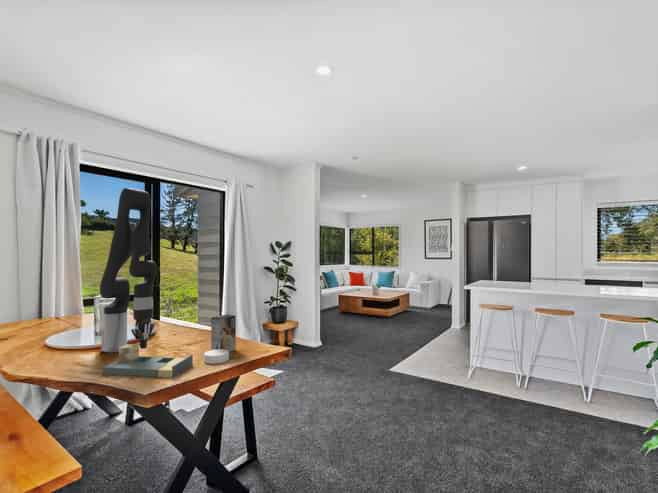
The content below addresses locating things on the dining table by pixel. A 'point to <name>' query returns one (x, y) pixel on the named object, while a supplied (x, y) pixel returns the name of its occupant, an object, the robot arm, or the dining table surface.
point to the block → (128, 352)
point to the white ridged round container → (216, 356)
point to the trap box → (149, 366)
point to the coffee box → (223, 332)
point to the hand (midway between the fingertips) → (143, 348)
